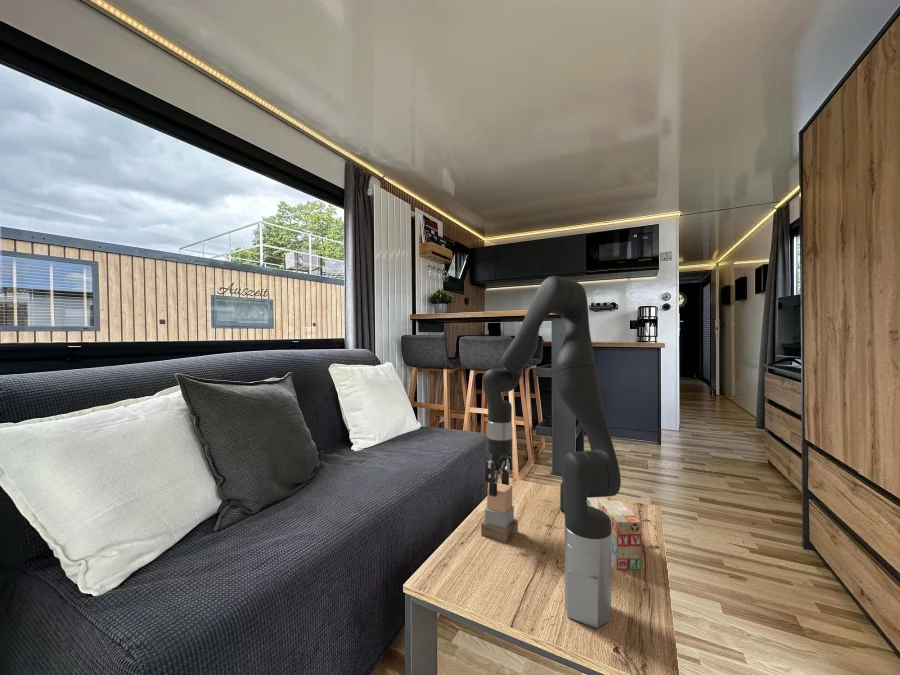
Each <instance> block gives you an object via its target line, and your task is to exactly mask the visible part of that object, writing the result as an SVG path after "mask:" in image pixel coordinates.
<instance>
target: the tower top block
mask: <svg viewBox="0 0 900 675" xmlns="http://www.w3.org/2000/svg"><path fill="white" fill-rule="evenodd" d="M514 507H515V506H514V505H512V507H511V508H510V509H509V510H508V511H507V512H506V513H505V514H504V513H501V512H497V511H494V510H490V509H487V507H486V508H484V520H485V524H489V525H493V526H497V527H500V528H504V529H506V528H507V527H508V526H509V525H510V523H511V522H512V521H513V520H514V519H515V518H514V517H515V516H514V514H515V513H514V512H515V508H514Z"/></svg>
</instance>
